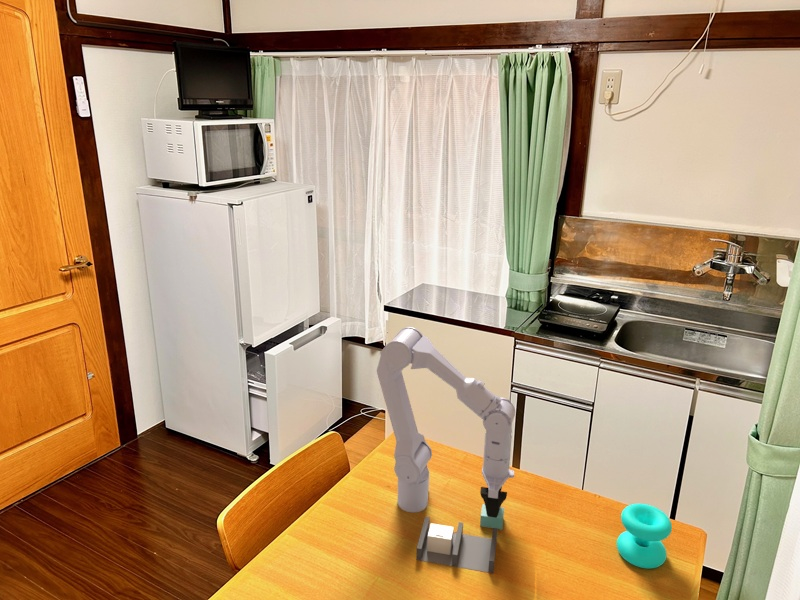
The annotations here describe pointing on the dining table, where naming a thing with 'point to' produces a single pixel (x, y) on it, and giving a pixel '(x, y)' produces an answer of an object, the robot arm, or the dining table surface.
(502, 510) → the teal box
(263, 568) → the dining table surface
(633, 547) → the turquoise spool
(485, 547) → the gray shelf unit
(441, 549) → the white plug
